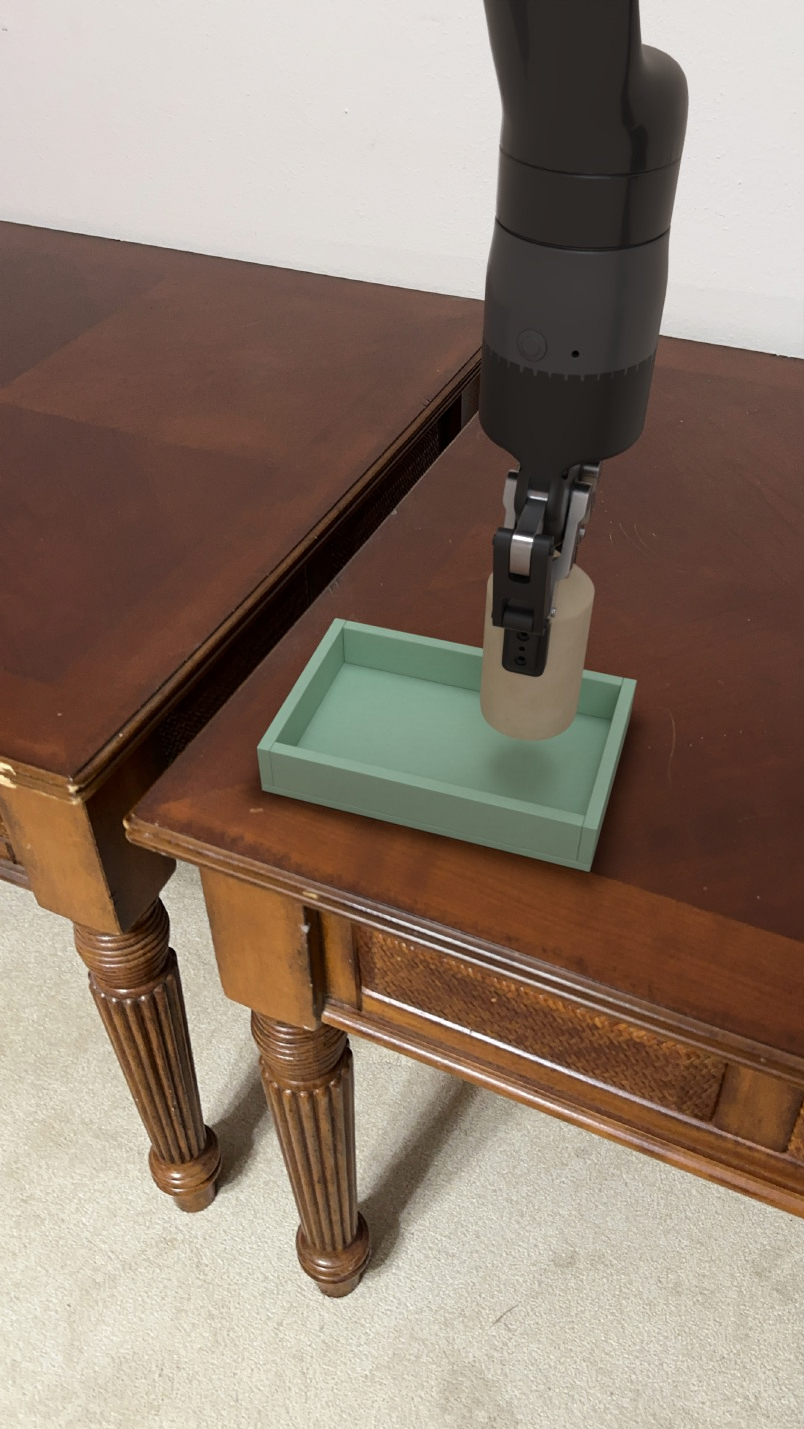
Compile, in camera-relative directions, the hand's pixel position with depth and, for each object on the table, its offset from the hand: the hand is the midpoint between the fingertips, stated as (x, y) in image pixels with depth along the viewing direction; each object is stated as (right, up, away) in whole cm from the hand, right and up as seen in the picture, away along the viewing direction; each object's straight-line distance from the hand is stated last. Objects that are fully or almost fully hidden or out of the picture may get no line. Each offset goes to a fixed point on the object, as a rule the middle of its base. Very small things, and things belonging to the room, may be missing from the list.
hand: (537, 633), depth 59 cm
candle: (0, -4, +4) cm, 6 cm away
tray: (-4, -7, +8) cm, 12 cm away
